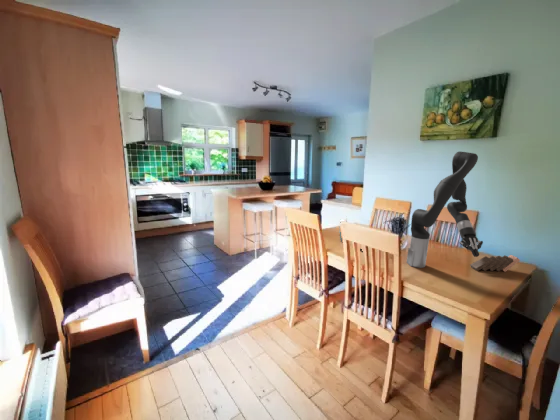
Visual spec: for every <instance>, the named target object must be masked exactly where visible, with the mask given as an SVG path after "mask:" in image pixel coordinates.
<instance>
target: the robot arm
mask: <svg viewBox="0 0 560 420" xmlns="http://www.w3.org/2000/svg"><path fill="white" fill-rule="evenodd" d="M478 159H479V157H478V154H476V153H474V152H468V151H456V152H455V153H454V155H453V157H452V161H451V162H452V166H451V169H452V174H450V175H448V176H446V177H445V178H442V179H441V180H440V181H439V182H438V184H437V185H436V186H435V188H434V190H433V204H432V205H431V207H430V208H429V209H428V210H425V209H421V208H417V209H415V210H414V211H413V213H412V216H411V225H410V232H411V236H410V237H411V238H410V243H409V247H408V249H407V250H408V251H407V256H406V257H407V258H406V264H408V265H409V266H410V267H414V268H421V269H422V268H425V267H426V264H427V256H428V248H429V243H430V236H431V235H430V233H429V232H428V231H427V230H426V229H425V228H431V227H432V226H433V225H435V223H436V221H437V219H438V218H439V216H440V214H441V213H442V211H443V209H444V207H445V206H446V208H447V211H448V212H449V214H450V215H451V216H452V217H453V219H454V221H455V223H456V225H457V226H456V228H457V230H458V233H459V235H460V238H461V241H459V244H460V246H462V247H463V248H464V249H466V250H467V251H470V253H471V254H472V256H473V257H475V258H477V257H479V256H480V253H479V250H480V249H481V248H482V246H483V244H484V242H483V240H479V238H478V237H477V233H476V231H475V229H474V226H473V225H472V223H471V221H470V218H469V216H468V214H467V213H464V212H466V211H467V210H468V205H467V199H466V196H467V183H466V181H465V178H466V176H468V174H469V173H470V172H471V171H472V170H473V168H474V167H475V166H476V165H477V163H478ZM451 198H452V200H455V201H449V200H450V199H451ZM448 201H449V202H448ZM447 202H448V203H447Z"/></svg>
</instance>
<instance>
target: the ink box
mask: <svg viewBox="0 0 560 420" xmlns="http://www.w3.org/2000/svg"><path fill="white" fill-rule="evenodd" d="M341 221H346V222H348V218H347V216H346V215H345V219H340V220H339V224H340V223H341ZM339 233H340V229H339Z"/></svg>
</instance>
